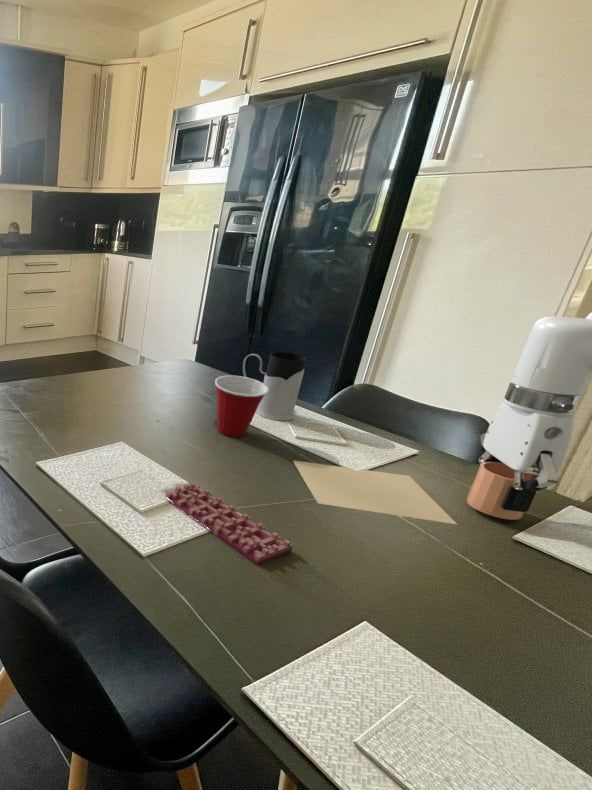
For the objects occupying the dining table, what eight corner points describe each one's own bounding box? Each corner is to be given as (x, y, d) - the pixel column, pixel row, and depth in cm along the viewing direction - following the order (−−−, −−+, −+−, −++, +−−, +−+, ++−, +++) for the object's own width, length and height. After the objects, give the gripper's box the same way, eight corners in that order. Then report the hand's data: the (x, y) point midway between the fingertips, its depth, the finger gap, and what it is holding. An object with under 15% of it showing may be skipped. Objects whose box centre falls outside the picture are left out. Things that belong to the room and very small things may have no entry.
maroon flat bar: (193, 488, 88) (195, 479, 87) (290, 552, 72) (293, 541, 71) (162, 497, 85) (164, 487, 85) (256, 565, 69) (259, 554, 69)
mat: (408, 476, 93) (409, 475, 93) (471, 539, 75) (472, 538, 75) (292, 461, 98) (293, 460, 98) (325, 516, 81) (326, 515, 80)
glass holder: (285, 423, 116) (300, 363, 110) (227, 405, 126) (238, 350, 120) (300, 415, 121) (315, 357, 115) (243, 398, 131) (254, 344, 126)
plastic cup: (209, 439, 107) (219, 389, 103) (202, 420, 117) (211, 373, 112) (263, 445, 105) (275, 394, 100) (250, 425, 115) (261, 377, 110)
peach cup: (505, 500, 84) (520, 464, 81) (533, 522, 78) (551, 484, 75) (457, 494, 86) (471, 459, 83) (481, 516, 80) (497, 478, 77)
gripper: (621, 422, 66) (566, 531, 72) (530, 382, 81) (492, 475, 88) (552, 417, 68) (504, 523, 74) (476, 378, 83) (442, 469, 90)
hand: (498, 496), depth 81 cm, fingers closed on peach cup, 6 cm apart
